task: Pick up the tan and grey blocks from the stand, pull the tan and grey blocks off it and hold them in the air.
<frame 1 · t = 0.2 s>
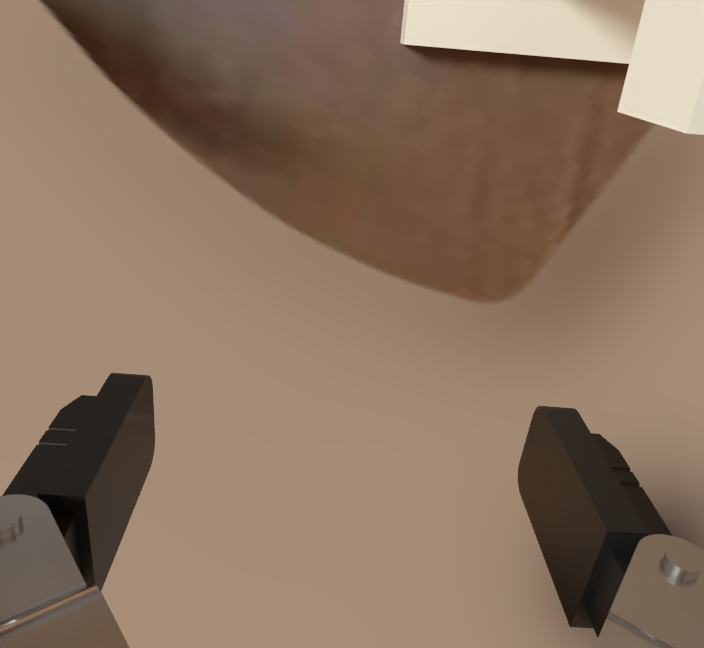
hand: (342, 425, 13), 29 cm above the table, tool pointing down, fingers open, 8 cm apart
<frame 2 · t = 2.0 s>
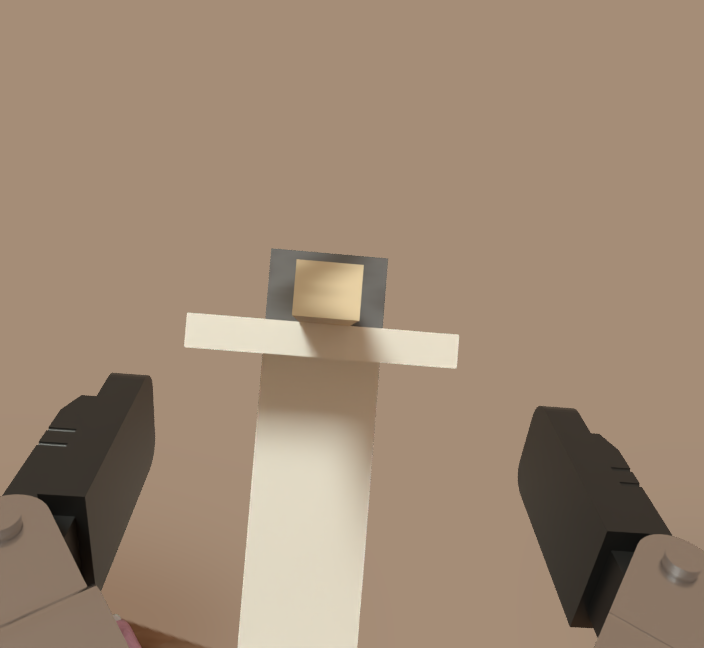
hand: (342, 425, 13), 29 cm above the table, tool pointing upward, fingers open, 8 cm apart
tan and grey blocks: (324, 324, 39), point 32 cm above the table, touching stand
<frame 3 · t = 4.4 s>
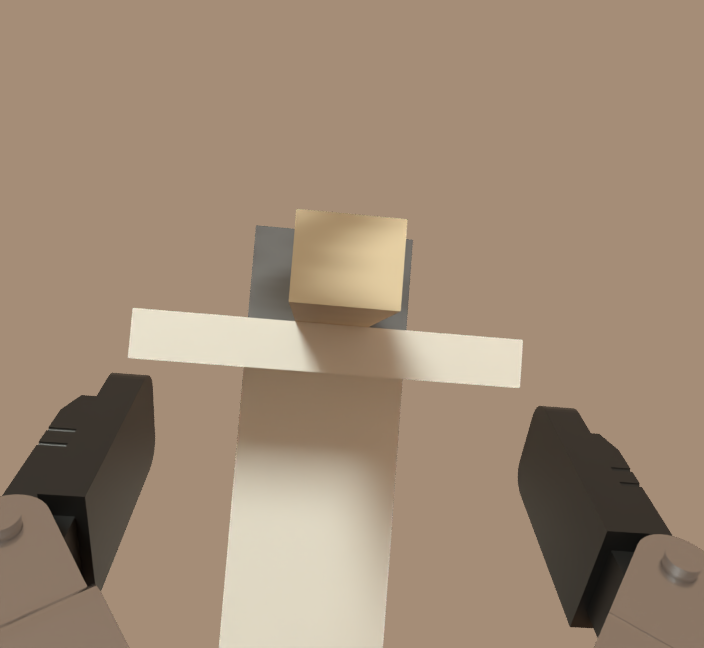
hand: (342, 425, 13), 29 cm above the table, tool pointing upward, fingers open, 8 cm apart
tan and grey blocks: (330, 326, 28), point 32 cm above the table, touching stand
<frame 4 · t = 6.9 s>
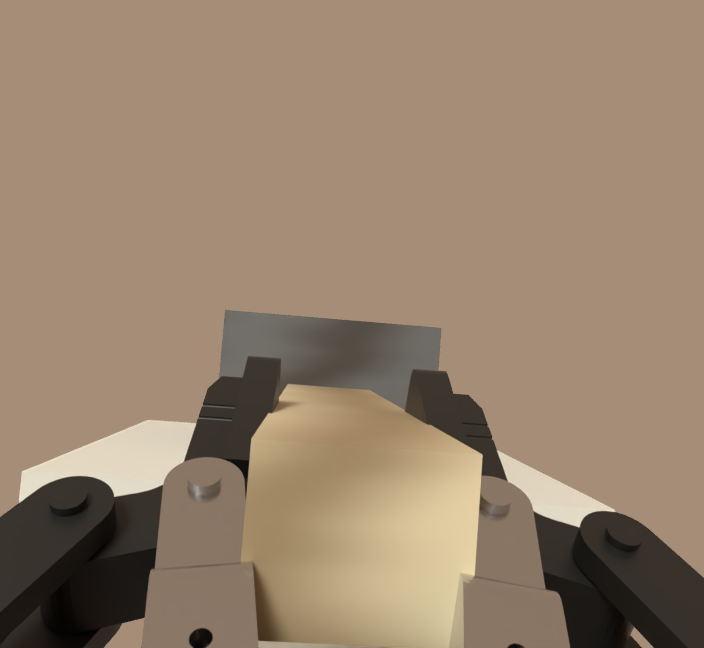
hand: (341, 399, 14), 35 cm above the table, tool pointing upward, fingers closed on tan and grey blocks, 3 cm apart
tan and grey blocks: (326, 476, 19), point 32 cm above the table, touching gripper, stand
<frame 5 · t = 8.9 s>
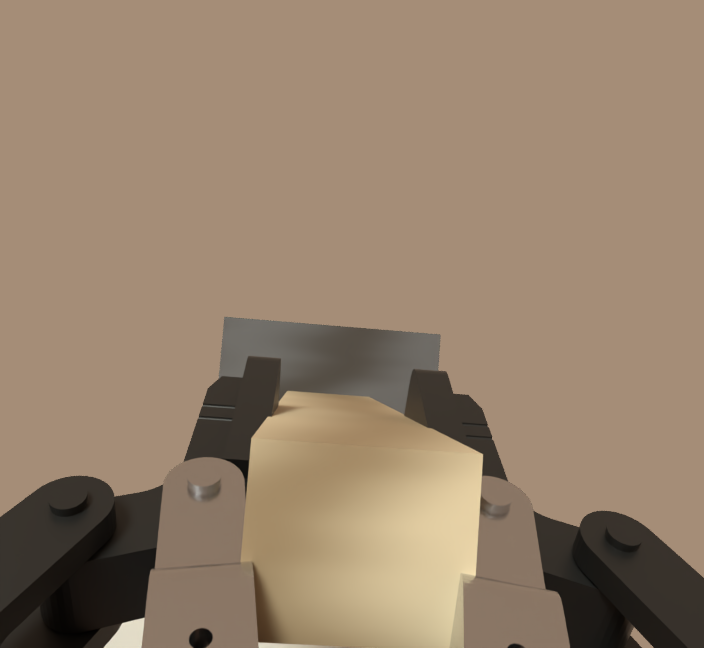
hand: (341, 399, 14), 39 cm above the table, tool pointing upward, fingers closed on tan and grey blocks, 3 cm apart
tan and grey blocks: (326, 483, 19), point 36 cm above the table, touching gripper
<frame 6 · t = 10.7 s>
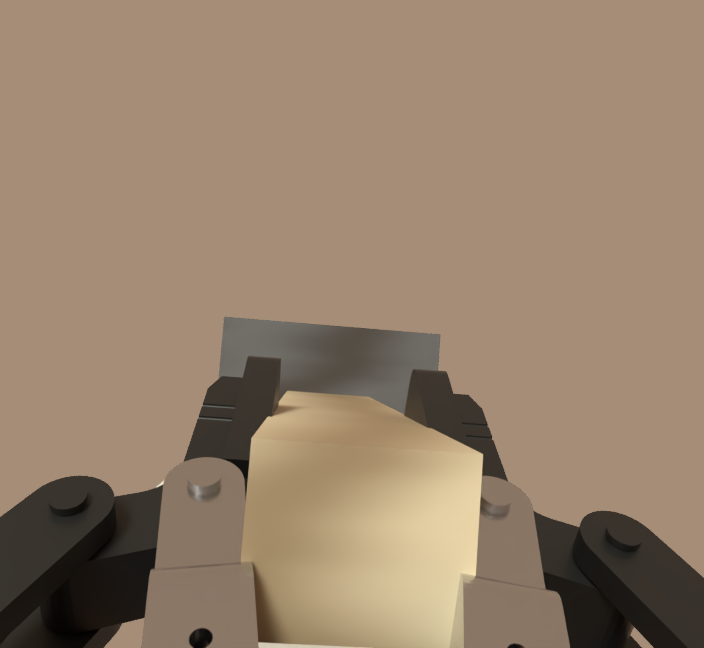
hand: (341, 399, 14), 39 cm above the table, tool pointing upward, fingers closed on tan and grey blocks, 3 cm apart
tan and grey blocks: (326, 483, 19), point 36 cm above the table, touching gripper
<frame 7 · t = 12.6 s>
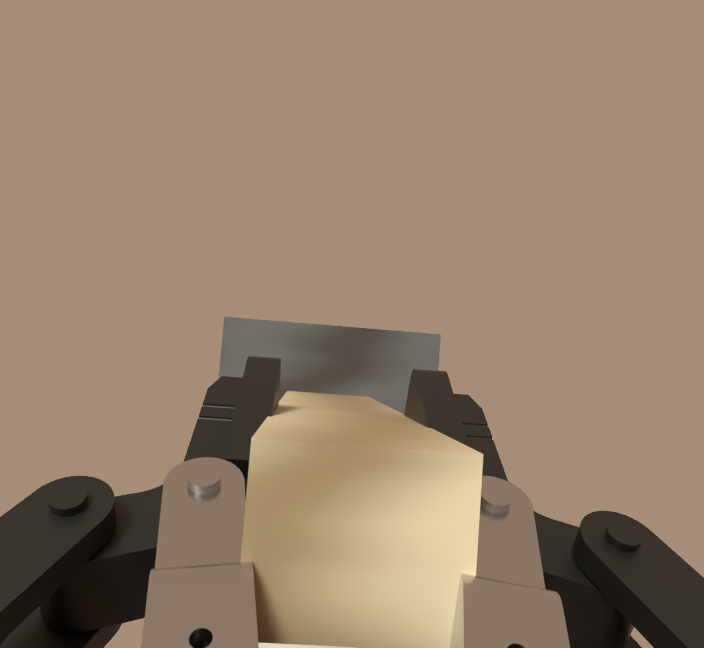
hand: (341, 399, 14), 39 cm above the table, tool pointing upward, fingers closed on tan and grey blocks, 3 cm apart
tan and grey blocks: (326, 483, 19), point 36 cm above the table, touching gripper
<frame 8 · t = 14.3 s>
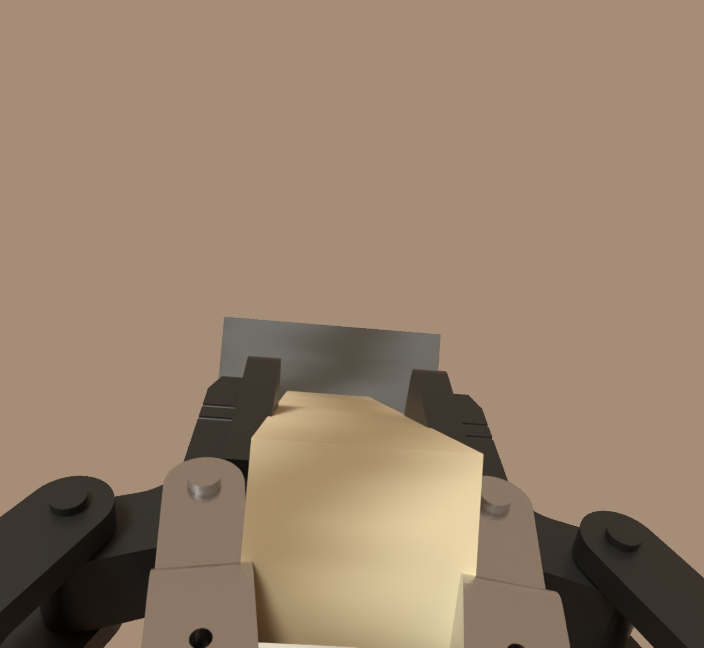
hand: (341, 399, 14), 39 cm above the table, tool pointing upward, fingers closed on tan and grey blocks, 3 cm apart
tan and grey blocks: (326, 483, 19), point 36 cm above the table, touching gripper
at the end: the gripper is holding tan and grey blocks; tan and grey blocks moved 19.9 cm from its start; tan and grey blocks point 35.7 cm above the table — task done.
